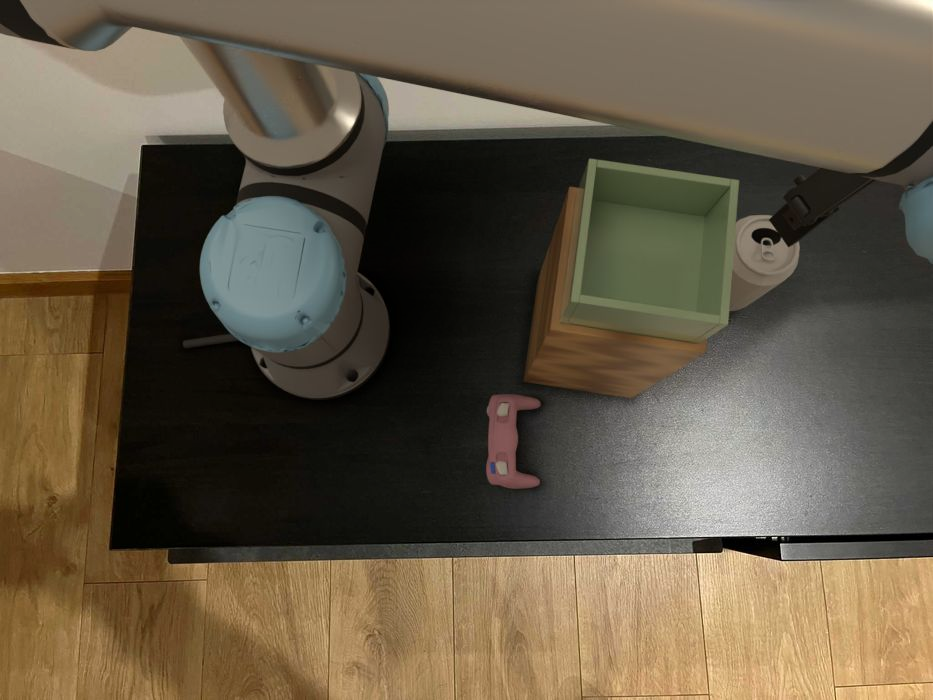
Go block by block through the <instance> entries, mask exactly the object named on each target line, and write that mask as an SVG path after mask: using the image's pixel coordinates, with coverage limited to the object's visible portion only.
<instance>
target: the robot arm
mask: <svg viewBox="0 0 933 700" xmlns="http://www.w3.org/2000/svg"><path fill="white" fill-rule="evenodd" d="M133 28H136V29H142V30H146V31H150V32H156V33H160V34H164V35H165V34H166V35H170V36H175V37H179V38H180V39H181V41H182V42H183V44H184V45H185V46H186V48H187V49H188V51H189V52H190V53H191V54H192V56H193V57H194V59H195V60H196V62H197V63H198V65H199V66H200V67H201V68H202V70H203V71H204V73H205V74H206V75H207V77H208V78H209V80H210V81H211V82H212V84H213V85H214V86H215V88H216V89H217V91H218V92H219V93H220V95H221V96H222V98H223V99H224V100H223V104H222V105H223V106H222V114H223V121H224V126H225V130H226V132H227V134H228V136H229V138H230V140H231V141H232V143H233V144H234V146H235V147H236V149H238V151H239V152H240V153H241V154H242V155H243V157H244V159H245V165H244V170H243V174H242V177H241V182H240V186H239V190H238V194H237V197H236V202H235V205H234V206H233V208H232V210H231V211H230V212H228V213H227V214H226V215H225V214H224V215H221V216H220V217H219V218H218V219H217V220H216V222H215V223H214V224H213V226H212V227H211V229H210V230H209V232H208V234H207V236H206V238H205V240H204V243H203V246H202V249H201V253H200V259H199V277H200V284H201V285H200V286H201V289H202V291H203V295H204V297H205V300H206V303H208V306H209V308H210V309H211V311H212V312H213V314H214V315H215V316H216V317H217V318H218V320H219V321H220V323H221V324H222V325H223V327H224V328H225V329H226V331H228V332H229V333H226V334H218V335H211V336H205V337H197V338H191V339H185V340H183V341H182V346H183V348H184V349H193V348H198V347H199V348H200V347H206V346H213V345H220V344H227V343H233V342H241V343H243V344H244V345H246V346H248V347H250V349H251V353H252V355H253V358H254V361H255V363H256V365H257V366H258V368H259V369H260V371H261V372H262V373H263V375H264V376H265V377H266V378H267V379H268V380H269V381H270V382H271V383H272V384H274V385H275V386H277V387H278V388H279V389H281V390H283V391H284V392H287V393H288V394H290V395H292V396H295V397H298V398H302V399H305V400H313V401H325V400H332V399H333V400H334V399H338V398H341V397H345V396H346V395H349V394H351V393H353V392H355V391H357V390H358V389H360V388H362V387H363V386H364V385H365V384H366V383H368V381H370V380H371V379H372V378H373V377H374V375H376V373H377V372H378V370H379V369H380V367H381V366H382V364H383V363H384V360H385V358H386V355H387V353H388V350H389V346H390V343H391V330H392V329H391V320H390V316H389V312H388V309H387V305H386V303H385V300H384V299H383V297H382V295H381V293H380V291H379V290H378V289H377V287H376V286H375V285H374V284H373V283H372V282H371V280H369V279H368V278H367V277H365V276H364V275H363V274H362V273H360V272H358V270H359V265H360V261H361V257H362V256H361V255H362V251H363V245H364V242H365V236H366V230H367V228H368V227H367V226H368V222H369V217H370V213H371V208H372V202H373V198H374V194H375V193H374V192H375V188H376V183H377V179H378V174H379V169H380V164H381V159H382V155H383V150H384V148H385V146H386V143H387V140H388V134H389V114H390V105H389V99H388V95H387V92H386V89H385V87H384V86H383V84H382V82H381V80H380V78H381V79H386V80H392V81H394V82H395V81H396V82H400V83H405V84H410V85H415V86H419V87H425V88H429V89H435V90H439V91H444V92H449V93H454V94H458V95H464V96H469V97H474V98H478V99H483V100H489V101H493V102H498V103H502V104H508V105H512V106H517V107H521V108H522V107H523V108H527V109H533V110H538V111H541V112H547V113H552V114H557V115H562V116H566V117H572V118H577V119H581V120H586V121H591V122H596V123H601V124H606V125H611V126H615V127H619V128H620V127H621V128H625V129H630V130H634V131H640V132H645V133H650V134H654V135H659V136H664V137H669V138H674V139H677V140H678V139H680V140H684V141H689V142H693V143H697V144H698V143H699V144H702V145H708V146H713V147H717V148H722V149H728V150H732V151H738V152H743V153H747V154H751V155H752V154H753V155H758V156H762V157H767V158H771V159H777V160H782V161H786V162H792V163H797V164H802V165H807V166H811V167H815V168H819V169H817V170H816V171H815V172H814V173H812V174H811V175H809V177H806V175H804V174H803V175H798V176H797V177H795V178H794V180H793V182H794V184H795V185H796V186H795V187H793V188H791V189H789V190H787V192H786V193H785V194H784V195H783V196H782V198H783V199H784V202H786V203H785V204H784V205H783V206H782V207H781V208H779V210H777V211H776V212H775V213H774V214H773V215H771V216H772V217H771V218H770V219H769V221H770V222H771V223H772V225H773V226H774V228H775V229H776V231H777V232H778V233H779V235H780V236H781V238H782V239H783V240H784V242H785V243H786V245H787V246H788V247H790V246H792V245H794V244H795V243H797V242H798V241H799V242H800V241H801V240H802V239H804V238H805V237H806V236H807V235H809V234H810V233H812V231H814V230H815V229H816V228H818V227H819V226H820V225H822V224H823V223H824V222H826V221H827V220H829V219H830V218H831V217H832V216H833V215H834V214H836V213H837V212H838V211H840V207H841V206H842V205H843V204H845V203H846V202H848V201H849V200H851V199H852V198H854V197H856V196H857V195H858V194H860V193H862V192H863V191H864V190H866V189H867V188H869V187H870V186H872V185H873V184H875V183H876V182H878V181H879V182H882V183H888V184H895V185H898V186H901V187H902V189H903V190H904V191H903V192H902V196H901V198H900V201H899V204H898V210H900V211H902V213H903V215H904V225H905V238H906V241H907V244H908V246H909V247H910V248H911V249H912V250H913V252H914V253H915V255H917V256H919V257H922V258H924V259H927V260H928V262H929V263H930V264H931V265H933V0H0V34H1V35H4V36H8V37H13V38H18V39H21V40H22V39H23V40H26V41H32V42H37V43H41V44H45V45H46V44H47V45H51V46H57V47H61V48H66V49H70V50H71V49H72V50H79V51H84V52H97V51H101V50H104V49H107V48H108V47H110V46H112V45H113V44H115V43H116V42H118V40H119V39H121V38H122V37H123V36H124V35H125V34H126V33H128V31H130V30H131V29H133Z"/></svg>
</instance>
